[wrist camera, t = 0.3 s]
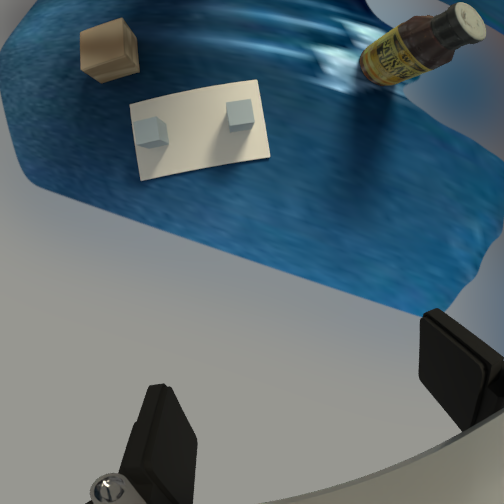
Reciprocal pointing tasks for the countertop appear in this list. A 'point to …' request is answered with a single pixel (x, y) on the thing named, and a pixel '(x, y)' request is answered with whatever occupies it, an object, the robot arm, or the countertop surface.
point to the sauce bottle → (421, 44)
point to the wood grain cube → (109, 51)
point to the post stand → (199, 129)
